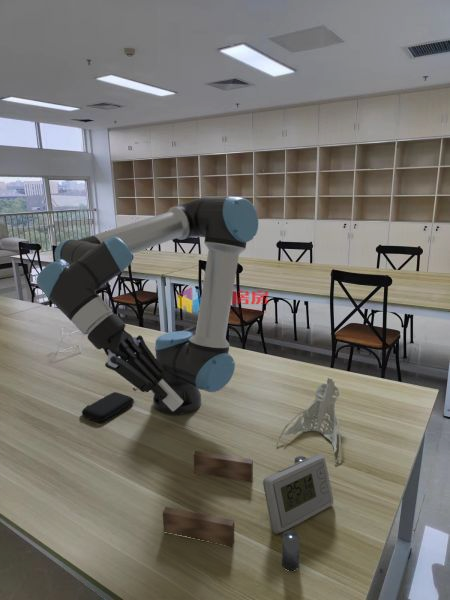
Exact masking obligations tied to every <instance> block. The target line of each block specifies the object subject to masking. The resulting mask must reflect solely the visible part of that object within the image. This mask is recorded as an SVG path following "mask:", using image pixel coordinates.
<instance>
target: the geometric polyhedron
mask: <svg viewBox="0 0 450 600" xmlns="http://www.w3.org/2000/svg"><path fill="white" fill-rule="evenodd" d="M74 329H78V328H77V327H74ZM64 332H65V333H66V334H64ZM76 332H77V333H78V332H81V331H80V330H79V329H78V330H75V331H73V332H69V333H68V332H67V331H66V330H65V328H64V327H61V328H60V334H59V339H58V343H57V350H56V353H58V354H59V353H60V354H61V353H62V354H64V353H65V354H71V352H70V351H69V352H63V351H65V350H68V349H72V348H75V349H76V350H78V351H79V352H80V354H82V353H83V349H84V343H85V339H83V338H85V337H86V334H83V333H82V334H81V338H80V340H79V343H78V341H76V339H74V338H73V337H72V336H71V334H73V333H76ZM61 336H62V337H61ZM66 336H69V337H70V338H71V339H72V340H73V341H74V342H76V344H77V345H74V344H73V343H72V342H71V341H70V340H69V339H68V338H67V337H66ZM64 338H65V339H66V340H67V341H68V342H69V343H70V344H71V345H72V346H71V347H68V348H65V349H62V350H60V347H61V345H62V342H63V339H64ZM82 339H83V342H82ZM81 342H82V347H81V345H80V344H81ZM77 346H79V347H78V348H79V349H78V348H77ZM59 350H60V351H59Z"/></svg>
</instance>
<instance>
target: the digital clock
mask: <svg viewBox="0 0 450 600" xmlns="http://www.w3.org/2000/svg"><path fill="white" fill-rule="evenodd" d="M305 458H306V459H304V460H302V461H300V462H297V463H295V462H294V463H293V464H291V465H288V466H286V467H285V468H282V469H280V470H278V471H277V472H275V473H273V474H270V475H268V476H266V477H265V478H264V479H263V480H262V485H263V491H264V492H263V493H264V497H265V502H266V505H267V511H268V517H269V521H270V528H271V530H272V532H273V533H274V534H277V535H278V534H280V533H283V532H286V531H288V530H289V528H290V529H291V528H294V527H295V526H296V525H299V524H300V523H302V522H304V521H306V520H308V519H309V518H312V517H313V516H316V515H317V514H319V513H321V512H322V511H324V510H326V509H328V508H330V507H331V506H332V505H333V504H334V497H333V492H332V486H331V483H330V481H331V480H330V477H329V471H328V467H327V463H326V458H325V456H324V454H321V453H320V454H319V453H317V454H315V455H313V456H311V457H305Z"/></svg>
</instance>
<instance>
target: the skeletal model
mask: <svg viewBox="0 0 450 600" xmlns="http://www.w3.org/2000/svg"><path fill="white" fill-rule="evenodd" d="M335 383H336V382H335V381H334V380H333V378H331V377H328V378H327V380H326V383H322V384H321V385H318V386H317V388H316V389H315V399H314V400H313V402H312V403H311V404H310V406H308V408H307V407H306V408H305V409H303V410H301V411H300V412H299V413H297V415H295V416H294V417H293V418H292V419H290V420H289V422H288V423H286V425H285V426H284V427H283V429H282V431H281V433H280V435H279V436H278V439H277V441H276V448H278V446H279V442H280V440H281V438H282V436H283V437H285V436H289V435H292V434H293V435H294V436H295V435H296V434H298V433H299V432H306V433H307V432H315V431H316V432H320V433H321V434H322V435H323V436H324V438H326V439H328V440H329V441H330V442H331V444H332V445H331V446H333V453H336V452H337V451H338V454H337V458H336V460H335V464H334V466H336V465H337V463H338V461H339V458H340V453H341V450H342V449H341V448H342V441H341V439H342V438H341V430H340V424H339V419H338V418H337V417H338V416H337V415H336V411H335V404H336V402H337V400H338V398H339V397H340V391H339V388H338V387H337V386H336V385H335ZM334 396H335V397H334ZM301 414H302V415H301ZM297 417H298V419H297V420H296V421H295V422H294V424H292V426H290V427H289V425H290V424H291V423H292V422H293V421H294V420H295V419H296V418H297ZM324 422H325V423H324ZM322 424H323V425H322ZM323 426H324V427H323ZM288 427H289V428H288ZM287 428H288V430H287V431H285V430H286V429H287ZM337 429H338V430H337ZM337 431H338V436H337ZM337 437H338V438H337ZM337 439H338V440H337ZM337 443H338V444H339V445H338V446H339V448H338V449H337Z"/></svg>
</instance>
